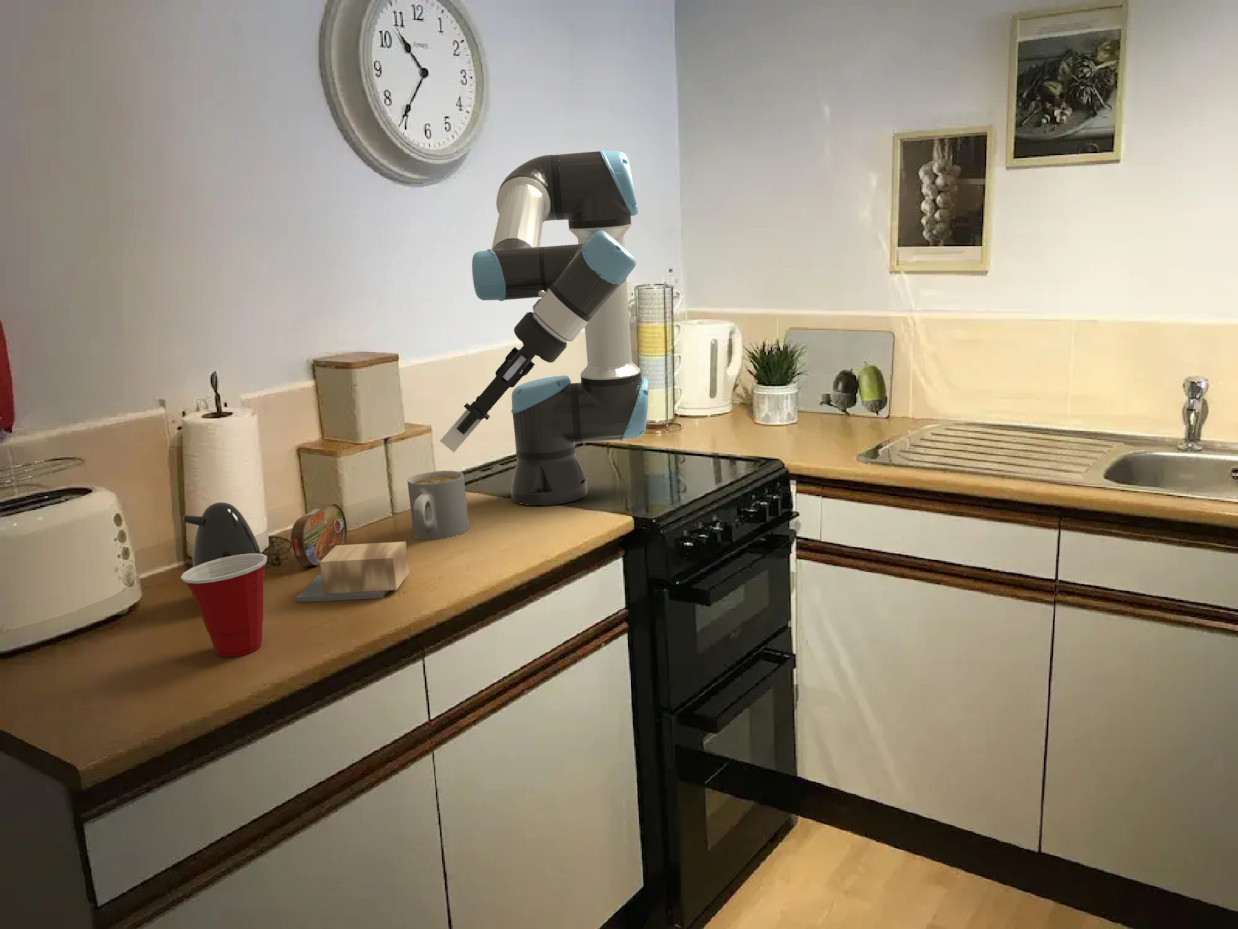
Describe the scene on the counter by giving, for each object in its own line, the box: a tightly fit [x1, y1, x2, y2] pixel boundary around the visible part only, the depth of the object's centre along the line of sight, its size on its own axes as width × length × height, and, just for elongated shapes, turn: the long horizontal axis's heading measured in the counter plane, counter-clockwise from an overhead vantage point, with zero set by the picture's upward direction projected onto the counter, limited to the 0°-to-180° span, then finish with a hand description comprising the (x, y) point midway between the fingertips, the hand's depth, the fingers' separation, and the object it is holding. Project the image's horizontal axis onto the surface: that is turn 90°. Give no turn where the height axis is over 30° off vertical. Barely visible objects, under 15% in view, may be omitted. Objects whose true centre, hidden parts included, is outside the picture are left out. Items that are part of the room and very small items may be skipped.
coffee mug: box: [407, 470, 470, 540], centre depth 183 cm, size 13×10×10 cm
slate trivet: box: [296, 574, 389, 603], centre depth 158 cm, size 13×10×1 cm
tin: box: [290, 503, 348, 567], centre depth 174 cm, size 15×3×8 cm, turn 168°
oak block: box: [319, 541, 410, 594], centre depth 157 cm, size 5×8×11 cm
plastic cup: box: [180, 553, 268, 658], centre depth 136 cm, size 11×11×12 cm
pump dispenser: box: [182, 501, 266, 571], centre depth 156 cm, size 10×10×15 cm
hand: (447, 445), depth 153 cm, fingers closed
